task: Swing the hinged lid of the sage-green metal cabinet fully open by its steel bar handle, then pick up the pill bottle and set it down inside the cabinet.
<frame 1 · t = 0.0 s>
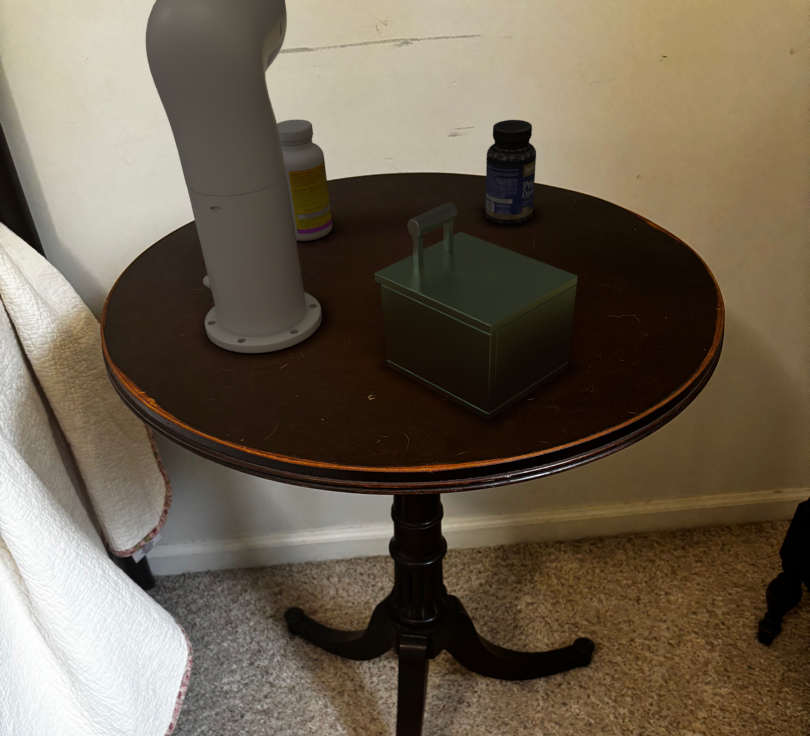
pill bottle: (508, 218, 104), on the table
lid: (474, 255, 71), point 11 cm above the table, hinge at 0.0°
supplement bottle: (307, 233, 104), on the table
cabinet: (476, 367, 79), on the table
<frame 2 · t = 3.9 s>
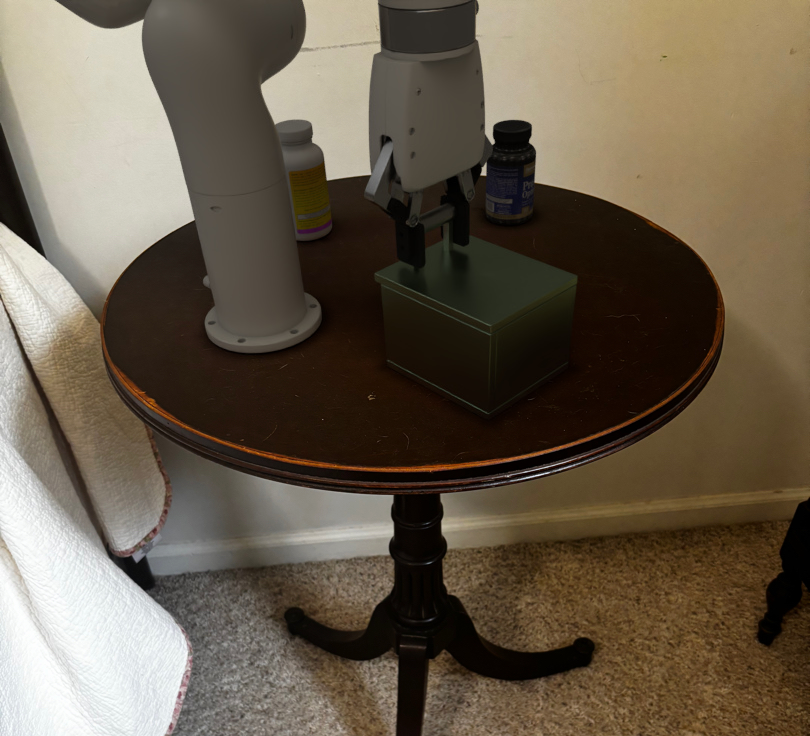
hand: (433, 250, 75), 10 cm above the table, tool pointing down, fingers closed on lid, 5 cm apart
lid: (474, 255, 71), point 11 cm above the table, hinge at 0.0°, touching gripper
everything else where it was.
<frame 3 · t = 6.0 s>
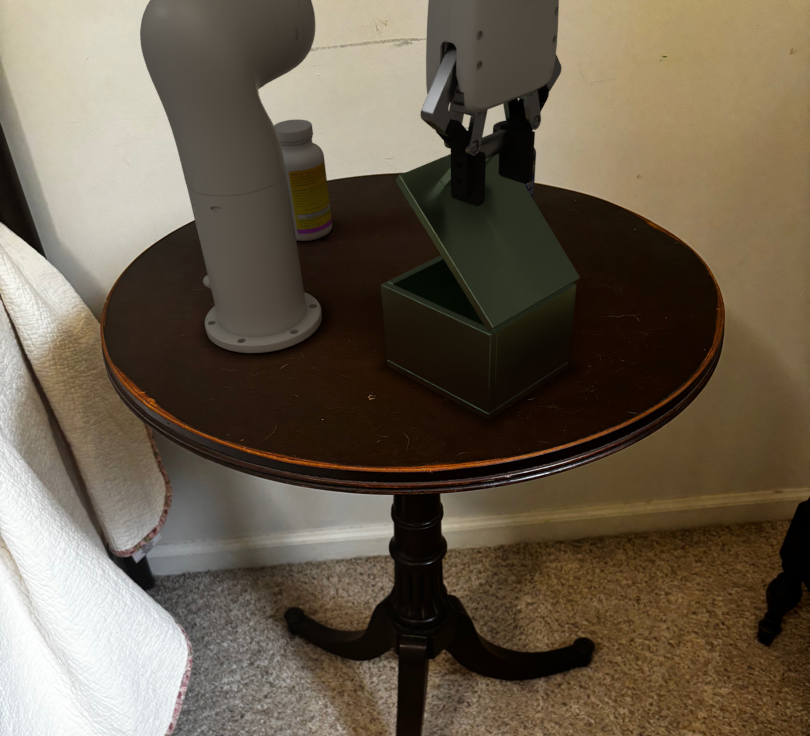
hand: (491, 187, 66), 18 cm above the table, tool pointing down, fingers closed on lid, 5 cm apart
lid: (505, 217, 66), point 16 cm above the table, hinge at 43.1°, touching gripper
everything else where it was.
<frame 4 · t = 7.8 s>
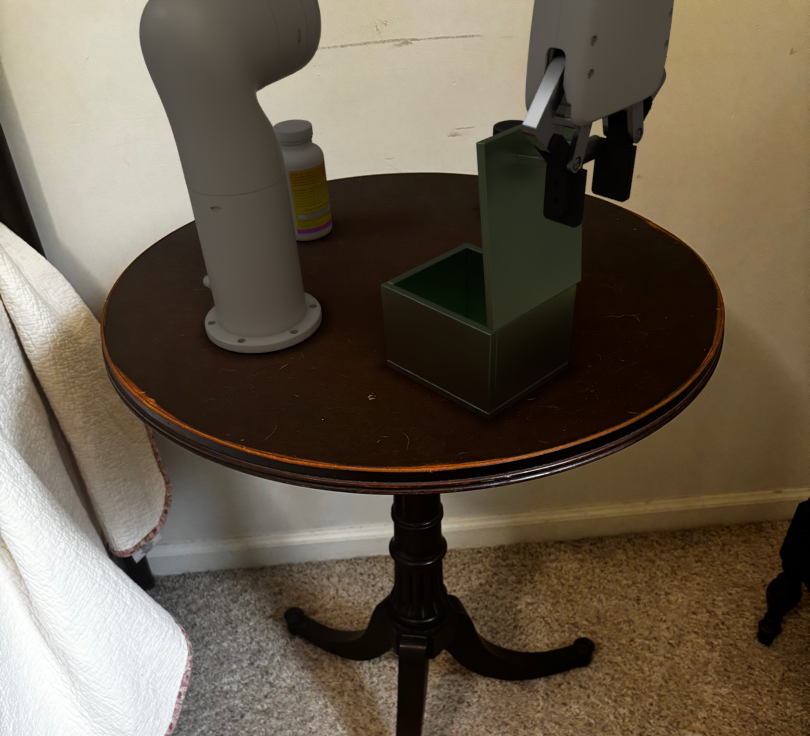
hand: (586, 206, 60), 19 cm above the table, tool pointing down, fingers closed on lid, 5 cm apart
lid: (556, 223, 63), point 17 cm above the table, hinge at 83.9°, touching gripper
everything else where it was.
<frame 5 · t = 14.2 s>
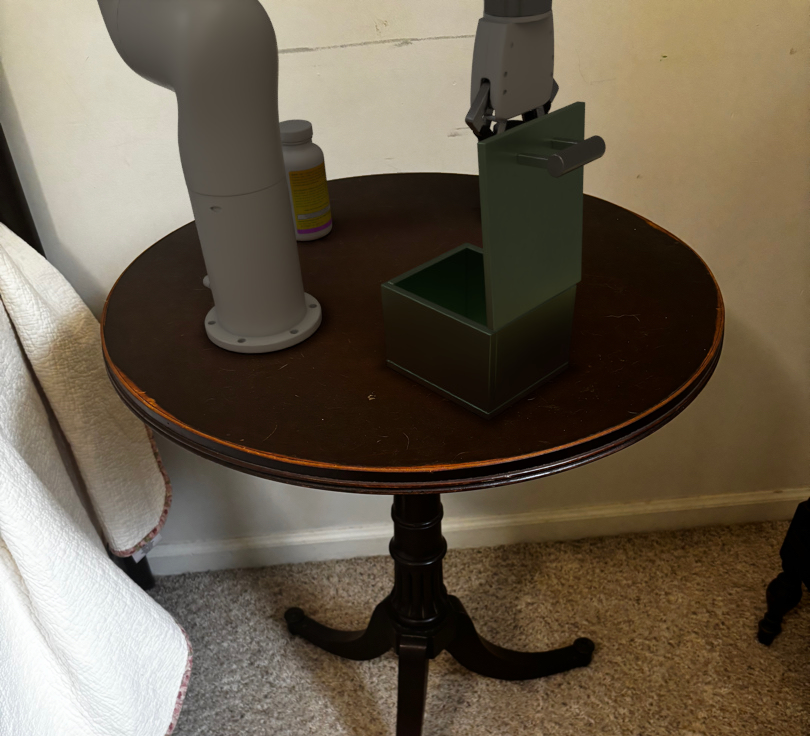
hand: (510, 168, 99), 6 cm above the table, tool pointing down, fingers closed on pill bottle, 6 cm apart
pill bottle: (508, 218, 104), on the table, touching gripper
lid: (556, 223, 63), point 17 cm above the table, hinge at 84.3°
everything else where it was.
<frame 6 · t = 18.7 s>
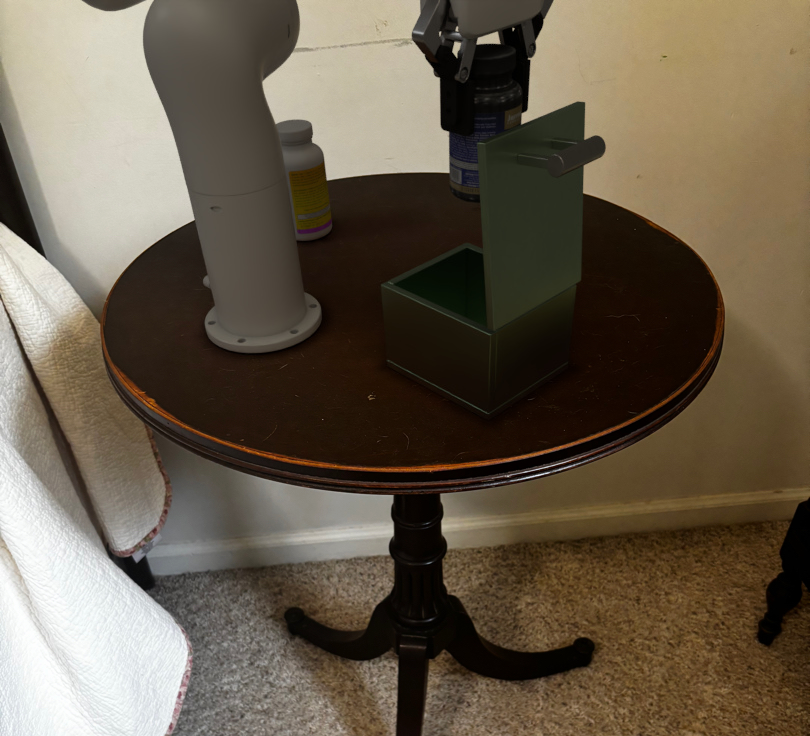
hand: (484, 118, 67), 21 cm above the table, tool pointing down, fingers closed on pill bottle, 6 cm apart
pill bottle: (483, 193, 71), point 15 cm above the table, touching gripper
everything else where it was.
when the fingers open (7 cm above the table, at t = 23.4 s): pill bottle stays where it is, resting on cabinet.
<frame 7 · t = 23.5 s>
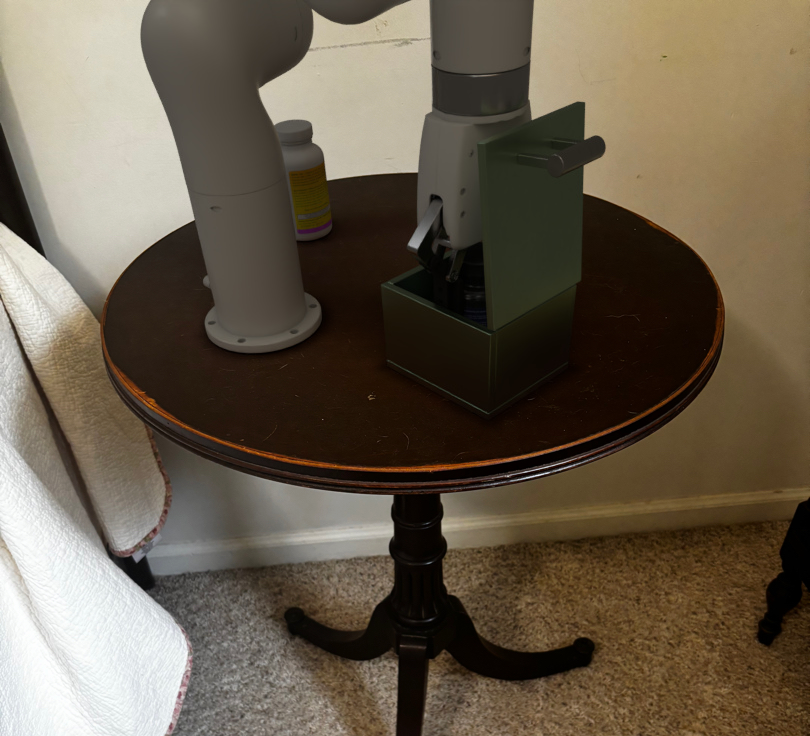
hand: (476, 299, 74), 7 cm above the table, tool pointing down, fingers open, 6 cm apart
pill bottle: (477, 362, 78), point 1 cm above the table, touching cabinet
everything else where it was.
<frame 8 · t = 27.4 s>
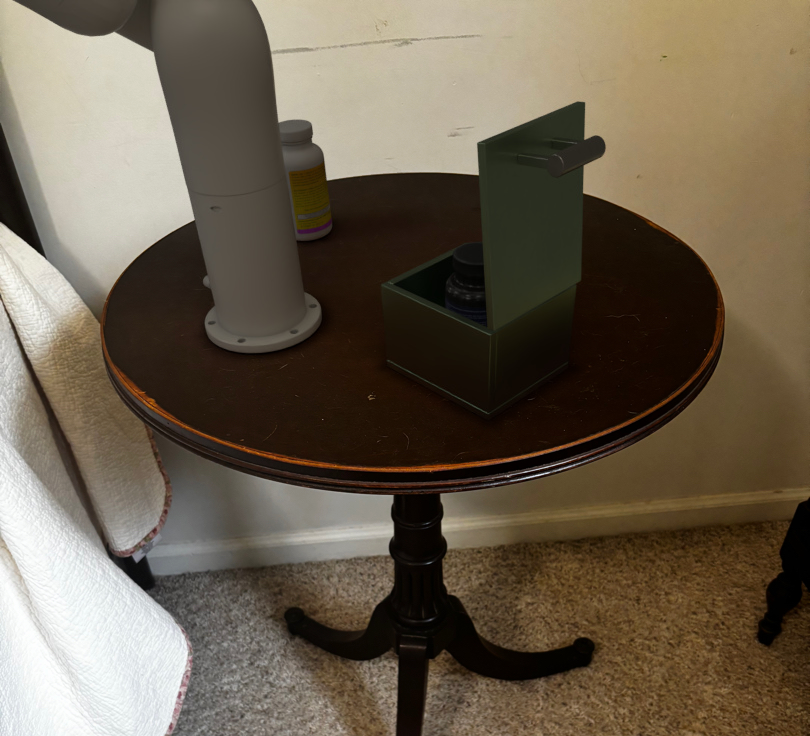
nothing on the table moved.
at the end: lid at +84° (first picture: +0°); pill bottle inside the target area in the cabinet (0.1 cm from its centre), point 0.6 cm above the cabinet's base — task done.
